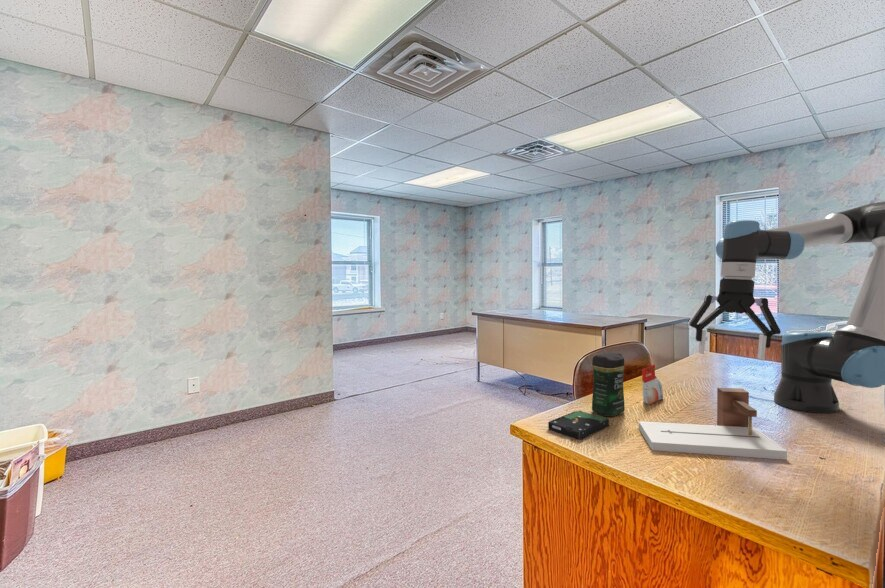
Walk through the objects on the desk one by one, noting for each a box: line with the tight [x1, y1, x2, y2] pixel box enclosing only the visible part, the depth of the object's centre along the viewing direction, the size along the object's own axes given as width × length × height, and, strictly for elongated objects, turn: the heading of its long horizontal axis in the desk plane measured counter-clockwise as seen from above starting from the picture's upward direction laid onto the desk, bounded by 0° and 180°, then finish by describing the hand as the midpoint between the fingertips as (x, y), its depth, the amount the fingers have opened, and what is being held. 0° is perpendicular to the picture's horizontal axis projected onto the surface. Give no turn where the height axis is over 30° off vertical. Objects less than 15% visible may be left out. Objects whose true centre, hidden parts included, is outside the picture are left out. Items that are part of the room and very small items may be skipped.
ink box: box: [641, 364, 664, 405], centre depth 134 cm, size 3×9×12 cm, turn 128°
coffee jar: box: [591, 351, 626, 417], centre depth 124 cm, size 10×8×19 cm
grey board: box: [638, 420, 788, 461], centre depth 101 cm, size 28×14×2 cm, turn 76°
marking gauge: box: [716, 387, 758, 435], centre depth 104 cm, size 6×14×11 cm, turn 166°
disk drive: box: [547, 409, 610, 441], centre depth 113 cm, size 10×3×15 cm
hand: (730, 356), depth 109 cm, fingers open, 13 cm apart
